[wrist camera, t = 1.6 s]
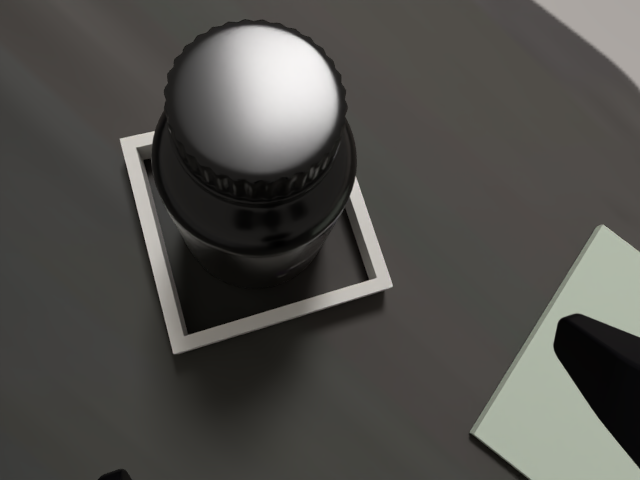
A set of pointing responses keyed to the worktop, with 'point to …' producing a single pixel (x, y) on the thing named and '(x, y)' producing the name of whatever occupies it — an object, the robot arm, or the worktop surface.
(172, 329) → the white square frame
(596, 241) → the mat
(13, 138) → the worktop surface
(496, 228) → the worktop surface
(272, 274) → the supplement bottle
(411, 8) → the worktop surface
